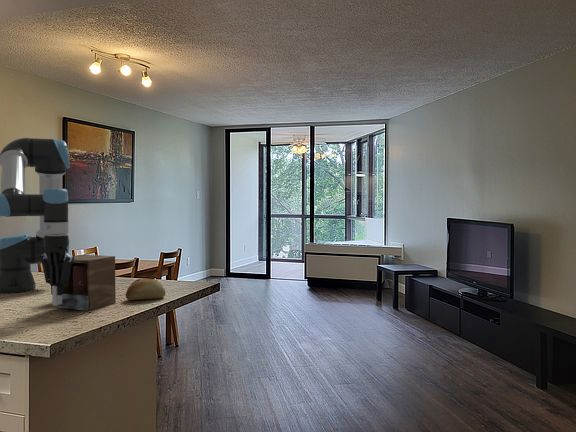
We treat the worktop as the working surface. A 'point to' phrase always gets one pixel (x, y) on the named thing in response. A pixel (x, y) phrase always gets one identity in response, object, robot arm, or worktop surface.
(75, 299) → the tray
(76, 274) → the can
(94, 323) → the worktop surface
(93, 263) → the box
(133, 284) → the bread roll
